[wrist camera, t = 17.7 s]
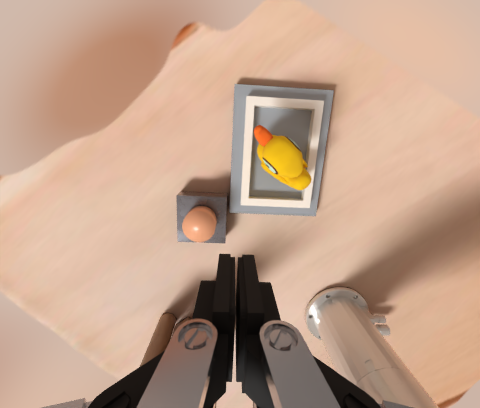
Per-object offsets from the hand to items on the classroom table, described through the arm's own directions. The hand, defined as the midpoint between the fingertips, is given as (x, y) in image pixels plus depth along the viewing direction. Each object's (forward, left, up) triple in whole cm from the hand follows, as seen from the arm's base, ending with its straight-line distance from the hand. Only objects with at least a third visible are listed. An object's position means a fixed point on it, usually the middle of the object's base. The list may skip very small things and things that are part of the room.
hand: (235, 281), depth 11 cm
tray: (-7, -5, -29) cm, 30 cm away
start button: (+5, +6, -26) cm, 27 cm away
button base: (+5, +6, -29) cm, 30 cm away
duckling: (-7, -5, -28) cm, 29 cm away
